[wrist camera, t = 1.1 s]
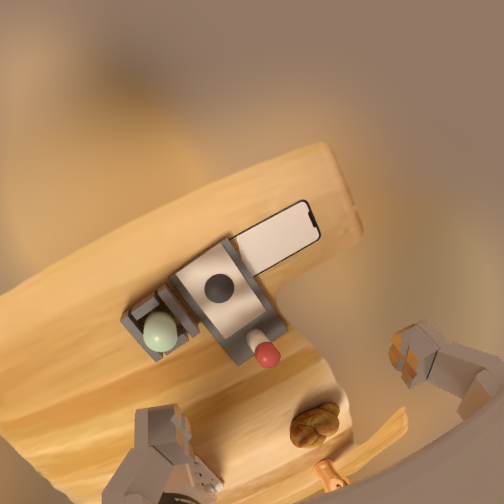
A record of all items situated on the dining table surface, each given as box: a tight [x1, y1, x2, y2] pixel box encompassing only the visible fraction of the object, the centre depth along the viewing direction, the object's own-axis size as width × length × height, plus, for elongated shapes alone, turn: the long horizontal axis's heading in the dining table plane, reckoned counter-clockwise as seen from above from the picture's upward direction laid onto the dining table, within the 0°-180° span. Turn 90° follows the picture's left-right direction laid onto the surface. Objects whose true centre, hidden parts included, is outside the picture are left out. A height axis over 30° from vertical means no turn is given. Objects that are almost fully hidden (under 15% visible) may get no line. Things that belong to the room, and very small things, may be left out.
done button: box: [143, 311, 177, 352], centre depth 43 cm, size 5×5×4 cm
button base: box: [120, 283, 200, 362], centre depth 46 cm, size 9×9×3 cm
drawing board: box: [169, 237, 288, 366], centre depth 50 cm, size 20×11×1 cm, turn 32°
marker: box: [246, 329, 281, 368], centre depth 48 cm, size 3×3×8 cm
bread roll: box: [290, 402, 340, 448], centre depth 57 cm, size 13×10×8 cm
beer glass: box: [313, 459, 351, 493], centre depth 59 cm, size 7×7×15 cm
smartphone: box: [229, 200, 321, 277], centre depth 51 cm, size 8×1×16 cm
